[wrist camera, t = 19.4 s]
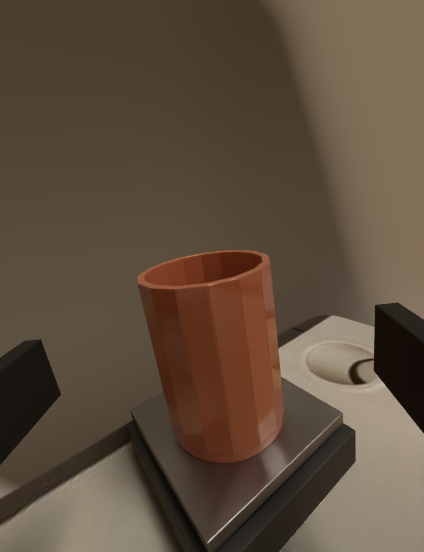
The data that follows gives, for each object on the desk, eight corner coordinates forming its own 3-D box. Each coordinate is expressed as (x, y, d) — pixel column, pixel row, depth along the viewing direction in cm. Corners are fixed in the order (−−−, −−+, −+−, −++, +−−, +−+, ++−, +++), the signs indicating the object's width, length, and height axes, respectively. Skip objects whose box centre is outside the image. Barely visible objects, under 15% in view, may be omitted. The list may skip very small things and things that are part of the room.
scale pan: (238, 358, 25) (236, 350, 24) (343, 423, 16) (343, 412, 16) (132, 419, 19) (130, 410, 19) (210, 556, 11) (207, 544, 11)
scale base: (242, 381, 26) (238, 354, 25) (356, 461, 17) (355, 423, 16) (133, 450, 20) (123, 418, 20) (217, 624, 11) (206, 579, 11)
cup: (254, 365, 22) (239, 245, 19) (308, 435, 15) (296, 264, 12) (166, 393, 20) (136, 266, 17) (182, 485, 14) (138, 301, 11)
